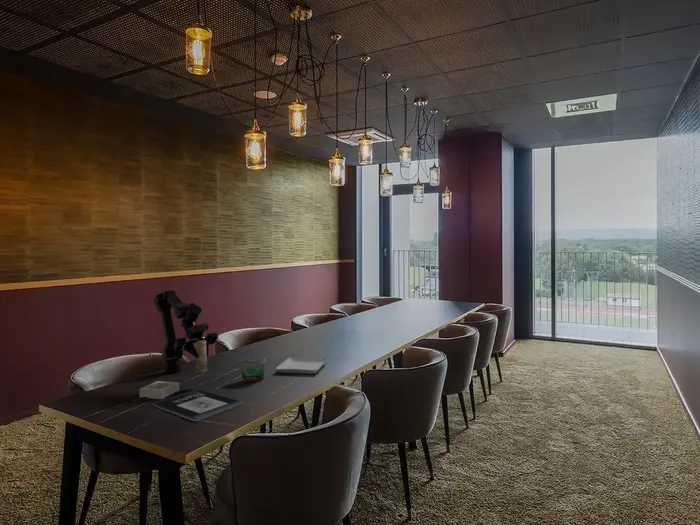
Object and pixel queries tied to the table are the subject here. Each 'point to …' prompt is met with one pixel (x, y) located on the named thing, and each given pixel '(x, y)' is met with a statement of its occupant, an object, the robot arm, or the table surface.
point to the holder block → (159, 389)
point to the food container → (252, 370)
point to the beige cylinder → (201, 356)
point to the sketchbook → (197, 404)
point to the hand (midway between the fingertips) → (202, 356)
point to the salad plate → (301, 365)
